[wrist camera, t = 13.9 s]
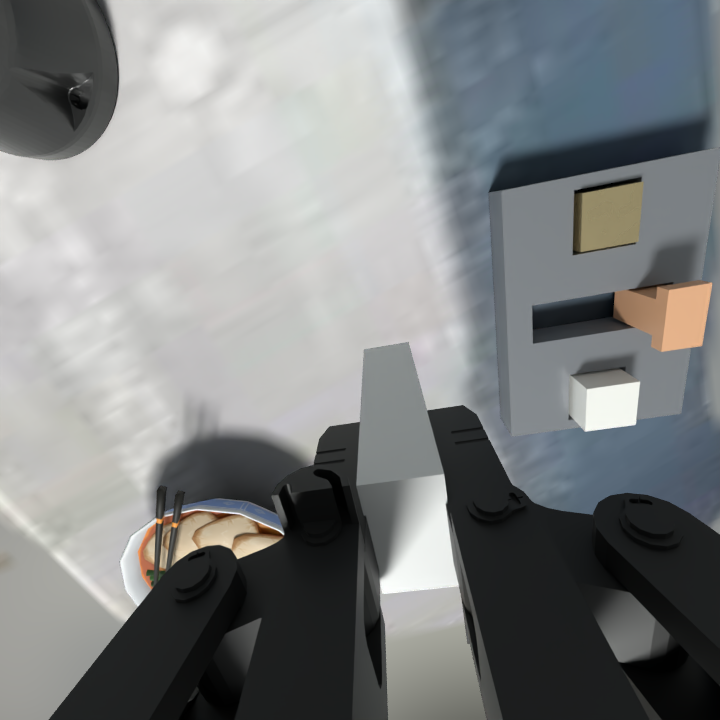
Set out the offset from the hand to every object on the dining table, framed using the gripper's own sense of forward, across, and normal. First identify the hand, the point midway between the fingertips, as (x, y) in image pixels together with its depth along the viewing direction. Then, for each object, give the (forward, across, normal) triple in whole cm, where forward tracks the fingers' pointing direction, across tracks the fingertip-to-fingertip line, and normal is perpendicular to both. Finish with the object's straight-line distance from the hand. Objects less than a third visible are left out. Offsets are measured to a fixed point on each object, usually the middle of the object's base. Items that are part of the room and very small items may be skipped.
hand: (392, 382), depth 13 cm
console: (+24, +18, -7) cm, 31 cm away
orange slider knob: (+24, +22, -7) cm, 34 cm away
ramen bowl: (+25, -23, -30) cm, 45 cm away
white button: (+22, +18, -15) cm, 32 cm away
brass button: (+24, +18, +1) cm, 30 cm away
